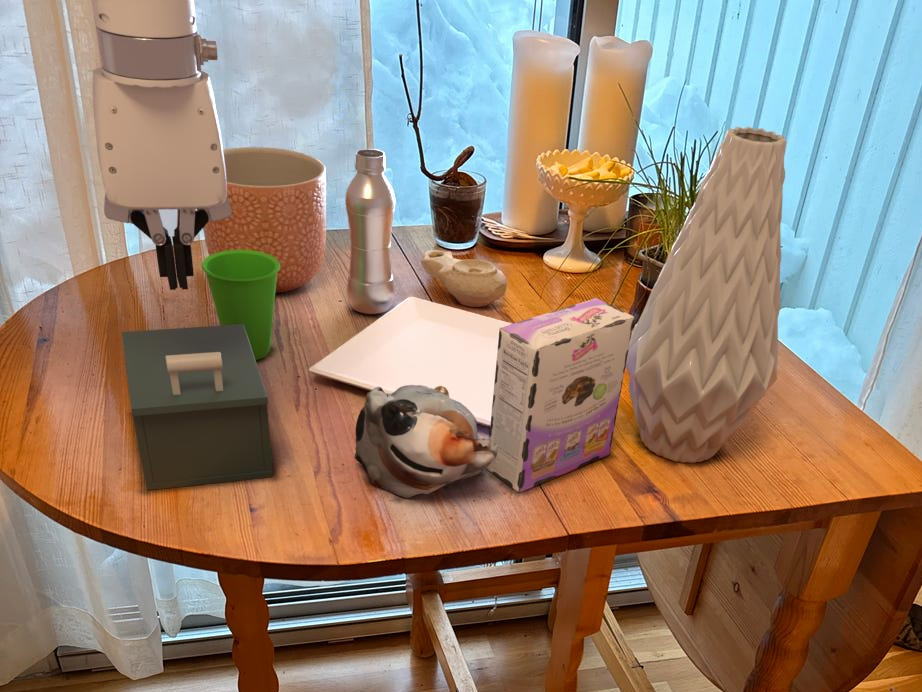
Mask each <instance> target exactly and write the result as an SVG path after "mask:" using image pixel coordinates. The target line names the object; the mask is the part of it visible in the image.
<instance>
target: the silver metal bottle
mask: <svg viewBox="0 0 922 692" xmlns="http://www.w3.org/2000/svg"><path fill="white" fill-rule="evenodd" d="M354 169H355V171H356V174H355V175H354V176H353V178H352V180H351V181H350V183H349V185H348V186H347V188H346V190H345V194H344V199H345V200H344V201H345V203H344V204H345V209H346V215H347V223H348V227H349V228H348V229H349V240H350V243H349V246H350V255H349V258H350V259H349V274H348V277H347V282H346V283H347V284H346V296H347V300H348V303H349V305H350V306H351V308H352V309H353V310H355V311H356V312H359V313H362V314H367V315H376V314H382V313H385V312H387V311H389V310H390V308H391V307H392V306H393V303H394V300H395V294H396V287H395V281H394V275H393V269H392V255H391V254H392V253H391V248H392V243H391V242H392V230H393V223H394V216H395V208H396V196H395V192H394V189H393V187H392V185H391V183H390V182H389V181H388V179H387V177H386V176H385V175H384V172H385V171H386V169H387V166H386V153H385V152H384V151H383V150H380V149H375V148H362V149H358V150H357V151H356V152H355V162H354Z"/></svg>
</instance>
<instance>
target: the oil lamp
mask: <svg viewBox="0 0 922 692" xmlns="http://www.w3.org/2000/svg"><path fill="white" fill-rule="evenodd" d="M421 266H422V268H423V270H424V271H425V272H426V273H427V274H428V275H429V276H432V277H433V278H435V279H439V281H440V283H441V285H443V286H444V287H445V288H446V290H447V291H448V292H449V293H450V294H451V295H452V296H453V297H455V299H456V301H457V302H458V303H459V304H461V305H463V306H465V307H471V308H473V307H474V308H478V307H480V308H481V307H486V306H488V305H490V303H492V302H495V301H498V300H500V299H501V298H502V297H503V296H505V294H506V291H507V287H508V285H507V284H508V282H507V278H506V276H505V274H504V273H503V272H502V271H501V270H500V269H499V268H497V266H496V265H495V264H493V263H492V262H489V261H486V260H483V259H473V258H472V259H471V258H470V259H458V258H455V257H454V256H453V253H452V252H451V251H443V250H440V249H436V250H435V249H434V250H432V249H431V250H426V251H425V252H424V253H423V258H422V260H421Z"/></svg>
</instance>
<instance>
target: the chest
mask: <svg viewBox="0 0 922 692" xmlns="http://www.w3.org/2000/svg"><path fill="white" fill-rule="evenodd" d="M132 419H133V420H132V421H133V425H134V430H135V436H136V441H137V446H138V451H139V457H140V462H141V467H142V473H143V477H144V483H145V488H146V491H155V490H156V491H157V490H164V489H174V488H183V487H193V486H201V485H211V484H219V483H220V484H221V483H228V482H238V481H247V480H256V479H264V478H265V479H266V478H273V477H274V471H273V470H274V469H273V458H272V445H271V434H270V433H271V432H270V419H269V409H268V404H266V405H254V406H243V407H231V408H220V409H209V410H197V411H186V412H174V413H163V414H152V415H140V416H132Z"/></svg>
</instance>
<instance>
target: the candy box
mask: <svg viewBox="0 0 922 692" xmlns="http://www.w3.org/2000/svg"><path fill="white" fill-rule="evenodd" d="M634 321H635V316H634V315H632V314H629V313H627V312H625V311H624V310H622V309H619V308H618V307H616V306H613V305H611V304H609V303H607V302H605V301H603V300H601V299H599V298H597V297H595V298H592V299H589V300H586V301H583V302H580V303H576V304H573V305H570V306H567V307H564V308H561V309H557V310H553V311H551V312H546V313H544V314H543V313H542V314H540V315H537V316H534V317H530V318H527V319H523V320H520V321H516V322H513V323H512V324H510V325H506V326H503V327H500V329H499V341H498V352H497V362H496V372H495V383H494V395H493V404H492V414H491V415H492V416H491V425H490V427H489V435H488V439H490V440H491V441H492V442H493V443H494V445H495V446H496V444H497V445H498V450H497V456H496V458H495V459H494V460H493V461H492V462H491V464H490V465H488V466H486V467H485V468H486V470H487V471H489V472H490V473H491V474H492V475H494V476H495V477H496V478H497V479H499V480H501V481H502V482H503V483H505V484H506V486H508V487H510V488H511V489H512V490H514V491H515V492H517V493H522V492H524V491H527V490H530V489H532V488H534V487H537V486H539V485H541V484H543V483H547V482H549V481H551V480H553V479H556V478H557V477H560V476H562V475H565V474H567V473H569V472H572V471H574V470H577V469H579V468H581V467H584V466H586V465H588V464H590V463H593V462H596V461H598V460H600V459H602V458H605V457H607V456H609V455H610V454H611V449H612V443H613V438H614V433H615V432H614V431H615V427H616V421H617V415H618V410H619V409H618V408H619V403H620V399H621V393H622V388H623V383H624V377H625V372H626V361H627V356H628V350H629V344H630V338H631V334H632V332H633V329H634V328H633V326H634Z"/></svg>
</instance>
